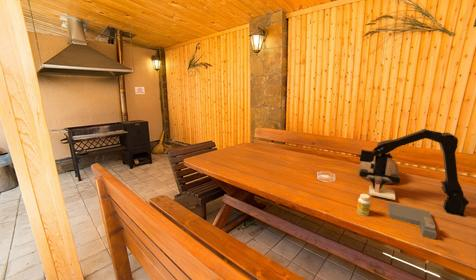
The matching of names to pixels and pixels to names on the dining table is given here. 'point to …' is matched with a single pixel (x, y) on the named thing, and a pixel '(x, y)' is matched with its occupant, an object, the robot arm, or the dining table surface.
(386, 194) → the cover
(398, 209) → the case
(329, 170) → the dining table surface
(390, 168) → the bread
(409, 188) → the dining table surface
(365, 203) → the supplement bottle
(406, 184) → the dining table surface
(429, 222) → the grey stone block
